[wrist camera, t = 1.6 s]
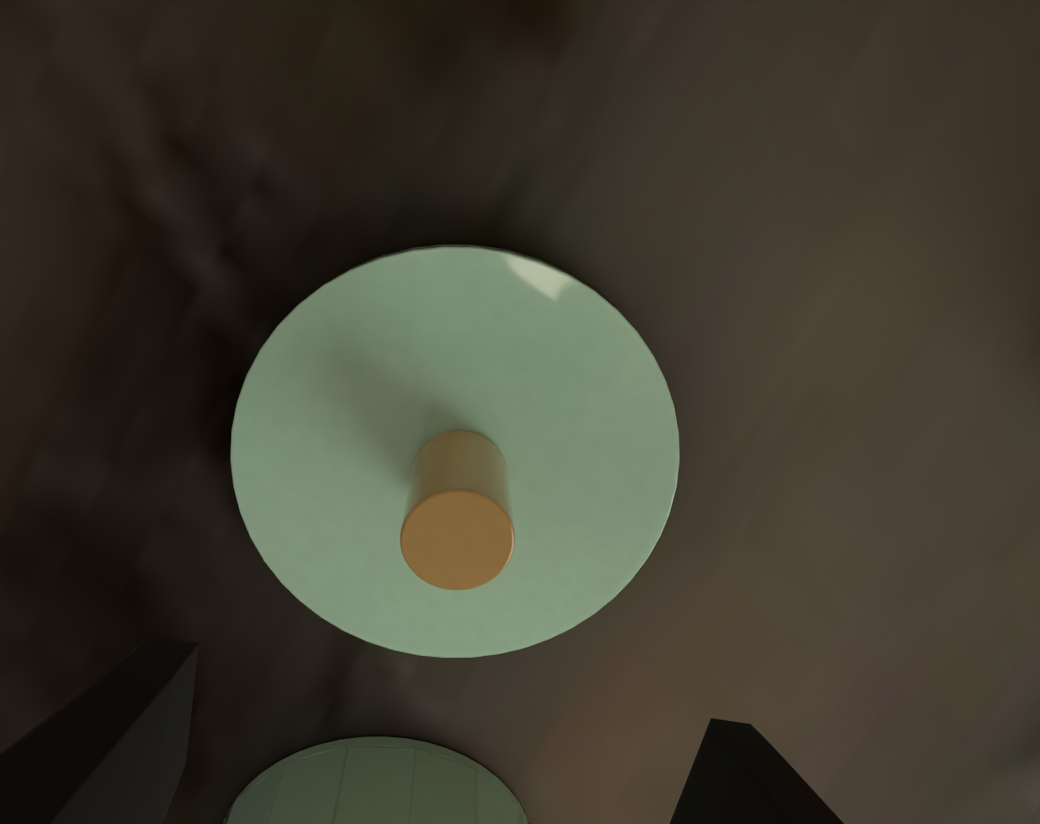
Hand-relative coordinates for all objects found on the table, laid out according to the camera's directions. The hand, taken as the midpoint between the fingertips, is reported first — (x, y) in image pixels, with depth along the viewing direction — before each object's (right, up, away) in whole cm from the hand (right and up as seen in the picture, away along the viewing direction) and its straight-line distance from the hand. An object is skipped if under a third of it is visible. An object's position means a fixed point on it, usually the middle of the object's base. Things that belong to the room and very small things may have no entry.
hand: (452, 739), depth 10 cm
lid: (-1, +3, +9) cm, 9 cm away
